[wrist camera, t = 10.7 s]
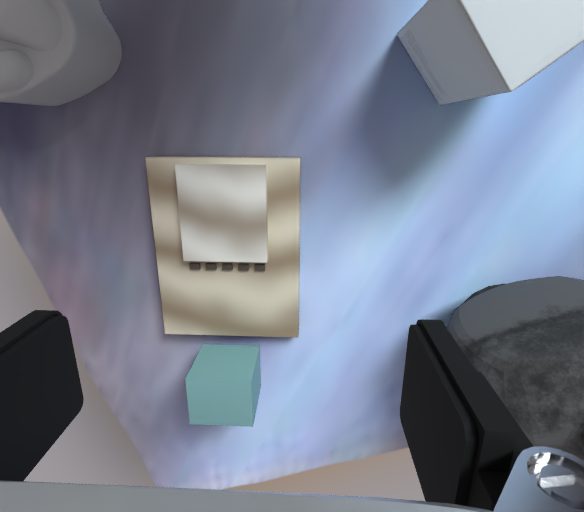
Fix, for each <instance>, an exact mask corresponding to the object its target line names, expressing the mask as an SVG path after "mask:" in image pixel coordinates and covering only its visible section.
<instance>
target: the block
mask: <svg viewBox="0 0 584 512" xmlns="http://www.w3.org/2000/svg"><path fill="white" fill-rule="evenodd" d="M185 381H186V392H187V402H188V412H189V422H190V424H198V425H225V426H252V427H253V424H254V419H255V413H256V408H257V403H258V398H259V393H260V387H261V375H260V346H259V345H223V344H203V345H202V347H201V349H200V351H199V353H198V355H197V357H196V359H195V361H194V363H193V365H192V367H191V369H190V371H189V373H188V375H187V377H186V379H185Z"/></svg>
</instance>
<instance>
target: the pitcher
mask: <svg viewBox="0 0 584 512" xmlns="http://www.w3.org/2000/svg"><path fill="white" fill-rule="evenodd" d="M447 329H448V331H449V332H450V334H451V335H452V337H453V338H454V340H455V341H456V342H457V344H458V345H459V347H460V348H461V350H462V351H463V353H464V354H465V356H466V357H467V359H468V360H469V361H470V363H471V364H472V366H473V367H474V369H475V370H476V371H479V372H481V373H482V374H483V375H484V376H485V378H486V379H487V381H488V382H489V384H490V385H491V386H492V388H493V389H494V391H495V392H496V393H497V395H498V396H499V398H500V399H501V401H502V402H503V403H504V405H505V406H506V408H507V409H508V411H509V412H510V413H511V415H512V416H513V418H514V419H515V420H516V422H517V423H518V425H519V426H520V428H521V429H522V430H523V432H524V433H525V435H526V436H527V438H528V439H529V440H530V442H531V443H532V445H533V446H534V447H541V446H545V447H550V448H555V449H559V450H562V451H564V452H567V453H570V454H573V455H574V456H576V457H578V458H580V459H582V460H584V280H580V279H575V278H568V277H561V276H556V277H545V278H536V279H529V280H523V281H517V282H513V283H509V284H500V285H493V286H488V287H486V288H484V289H482V290H480V291H478V292H476V293H474V294H473V295H472V296H471V297H470V298H469V299H468V300H466V301H465V302H464V303H463V304H461V305H460V306H459V307H458V308H457V309H456V310H455V311H454V313H453V315H452V317H451V319H450V321H449V324H448V328H447Z"/></svg>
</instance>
